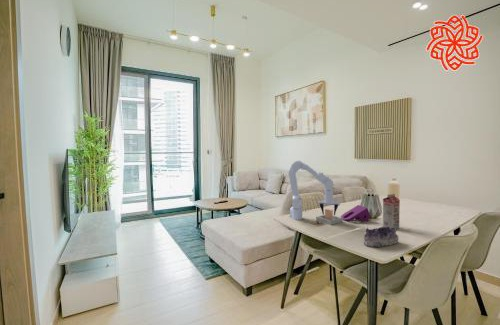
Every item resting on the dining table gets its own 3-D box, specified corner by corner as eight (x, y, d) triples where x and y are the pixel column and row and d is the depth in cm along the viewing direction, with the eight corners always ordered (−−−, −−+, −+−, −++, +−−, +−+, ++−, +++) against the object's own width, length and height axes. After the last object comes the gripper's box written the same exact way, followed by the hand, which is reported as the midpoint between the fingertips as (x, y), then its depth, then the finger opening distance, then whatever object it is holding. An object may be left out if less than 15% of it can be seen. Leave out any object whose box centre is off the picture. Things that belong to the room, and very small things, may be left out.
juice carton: (382, 226, 156) (383, 193, 155) (389, 225, 159) (390, 193, 157) (392, 229, 150) (392, 195, 149) (399, 228, 153) (399, 194, 151)
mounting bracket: (350, 231, 166) (371, 218, 168) (345, 221, 165) (367, 208, 167) (342, 227, 175) (362, 214, 178) (338, 217, 174) (358, 204, 177)
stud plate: (308, 224, 165) (308, 218, 164) (317, 222, 169) (317, 216, 169) (317, 227, 157) (317, 221, 157) (327, 225, 161) (327, 219, 161)
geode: (377, 251, 120) (375, 232, 121) (359, 246, 131) (356, 228, 131) (403, 243, 128) (401, 224, 129) (384, 238, 139) (382, 221, 139)
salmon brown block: (325, 221, 167) (325, 210, 166) (325, 219, 171) (325, 208, 171) (332, 222, 165) (332, 211, 165) (332, 220, 170) (332, 209, 169)
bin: (316, 221, 171) (316, 216, 171) (327, 218, 177) (327, 213, 177) (330, 226, 160) (330, 221, 160) (342, 223, 166) (342, 218, 165)
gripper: (339, 195, 168) (339, 213, 169) (318, 194, 174) (318, 212, 174) (339, 197, 162) (339, 216, 163) (317, 196, 167) (317, 214, 168)
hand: (328, 214), depth 168 cm, fingers open, 7 cm apart
